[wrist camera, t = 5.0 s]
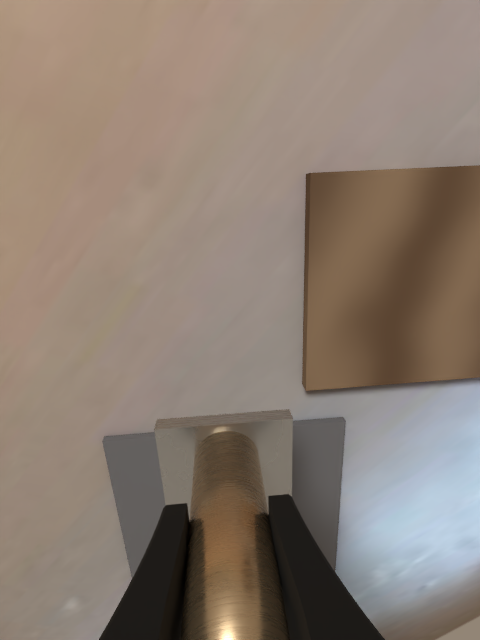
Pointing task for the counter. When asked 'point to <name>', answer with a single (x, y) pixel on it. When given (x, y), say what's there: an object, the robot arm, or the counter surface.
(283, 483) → the stamp with brass handle
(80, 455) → the counter surface
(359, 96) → the counter surface
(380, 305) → the board
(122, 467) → the mat
